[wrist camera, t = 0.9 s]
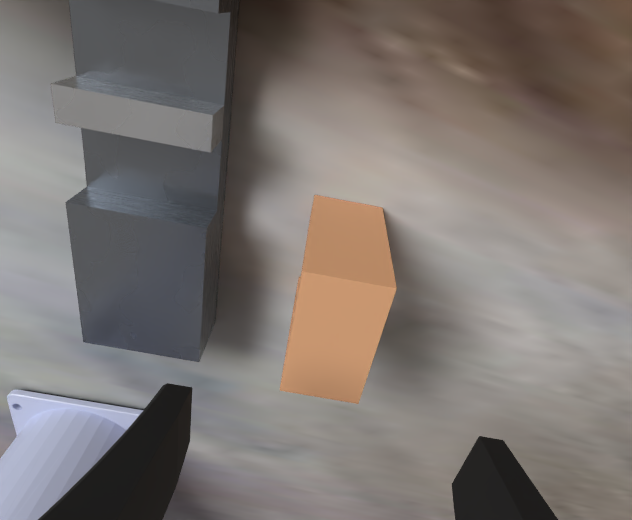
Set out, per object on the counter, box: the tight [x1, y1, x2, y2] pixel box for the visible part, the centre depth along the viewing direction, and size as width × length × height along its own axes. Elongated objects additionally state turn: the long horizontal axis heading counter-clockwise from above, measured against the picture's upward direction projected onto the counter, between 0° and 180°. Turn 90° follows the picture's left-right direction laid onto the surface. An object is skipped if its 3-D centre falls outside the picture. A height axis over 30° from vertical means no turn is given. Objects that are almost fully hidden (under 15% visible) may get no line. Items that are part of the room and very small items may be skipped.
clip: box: [280, 195, 397, 404], centre depth 17 cm, size 5×3×6 cm, turn 170°
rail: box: [51, 0, 239, 362], centre depth 15 cm, size 20×5×3 cm, turn 170°
